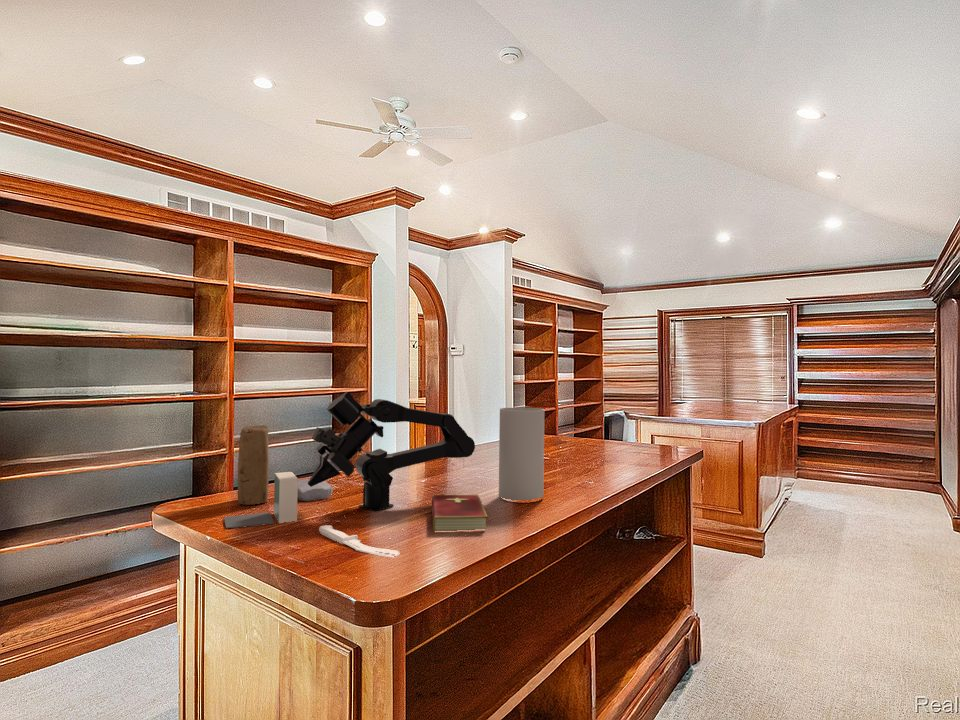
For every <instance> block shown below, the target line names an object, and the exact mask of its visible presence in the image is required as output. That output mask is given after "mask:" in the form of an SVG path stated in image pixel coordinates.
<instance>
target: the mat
mask: <svg viewBox="0 0 960 720" xmlns="http://www.w3.org/2000/svg"><path fill="white" fill-rule="evenodd" d="M224 520H225V521H224ZM223 521H224V525H225V526H226V527H225V526H224V527H225V529H226V528H227V529H226V530H229V529H228V528H234V529H238V528H237V527H242V528H245V527H244V526H251V527H255V526H254V525H260V526H264V525H263V524H269V525H274V524H275V521H274V518H273V517H272V515H271V513H270V512H260V513H258V512H257V513H249V514H248V513H247V514H241V515H231V516H224V517H223Z"/></svg>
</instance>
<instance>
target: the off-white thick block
mask: <svg viewBox="0 0 960 720" xmlns="http://www.w3.org/2000/svg"><path fill="white" fill-rule="evenodd" d="M298 481H299V478H298V477H297V476H296V475H295V474H294V473H293V472H292V471H284V472H274V491H273V493H274V495H273V496H274V497H273V498H274V499H273V501H274V502H273V514H275V515H274V517H275V516H276V517H275V519H276V518H277V519H276V520H278V521H277V523H278V522H279V523H278V524H283V523H284V522H286V523H293V522H292V521H295V522H298Z"/></svg>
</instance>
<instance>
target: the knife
mask: <svg viewBox="0 0 960 720" xmlns="http://www.w3.org/2000/svg"><path fill="white" fill-rule="evenodd" d="M318 532H319V534H321V535H322V536H324V537H326V538H328V539H331V540H332V541H334V542H336V541H337V542H336V543H338V542H339V544H340V545H347V546H348V547H350V548H352V549H354V551H356V552H361V553H364V554H369V555H370V554H371V555H374V556H379V557H387V558H395V557H394V556H396V557H397V556H400V551H399V550H395V549H387V548H380V547H373V546H370V545H366V544H364V543H362V540H361V539H359V538H358V535H357V534H352V535H348V534H346V533H345V531H344V532H343V531H341V530H337V529H334V528H333V526H332V525H327V524H325V525H320V526H319V527H318Z"/></svg>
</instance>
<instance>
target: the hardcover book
mask: <svg viewBox="0 0 960 720" xmlns="http://www.w3.org/2000/svg"><path fill="white" fill-rule="evenodd" d="M431 514H432V515H431V516H432V517H431V518H432V528H433V529H432V531H433V533H434V532H435V531H457V530H475V529H485V530H486V526H487V525H486V521H487V520H486V519H488V518H489V517H488V515H487V512H486V510H485V507H484V505H483V503H482V500H481V497H480V496H479V494H433V495H432V497H431Z"/></svg>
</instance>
